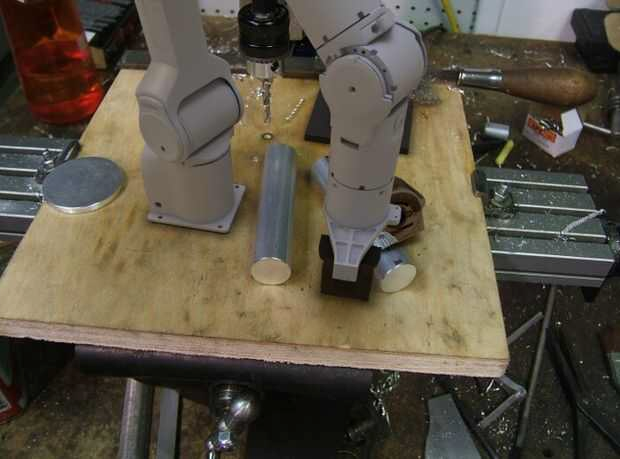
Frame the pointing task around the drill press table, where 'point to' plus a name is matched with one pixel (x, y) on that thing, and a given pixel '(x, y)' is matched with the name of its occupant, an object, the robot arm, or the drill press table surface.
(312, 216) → the drill press table surface
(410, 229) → the brown bearing housing
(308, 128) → the base pad
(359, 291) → the dark brown block
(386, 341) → the drill press table surface
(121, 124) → the drill press table surface
